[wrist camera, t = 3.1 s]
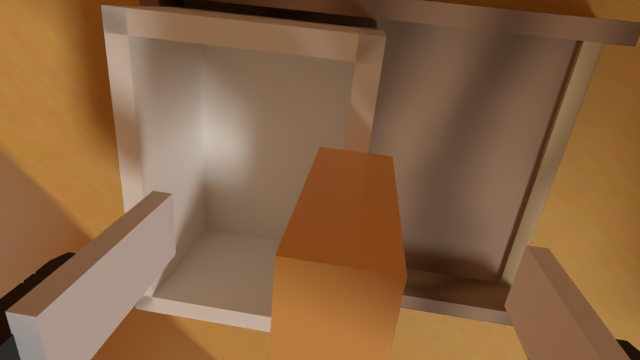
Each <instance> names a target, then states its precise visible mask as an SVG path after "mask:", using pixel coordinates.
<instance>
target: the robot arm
mask: <svg viewBox="0 0 640 360" xmlns="http://www.w3.org/2000/svg"><path fill="white" fill-rule="evenodd" d="M175 255H176V247H175V230H174V214H173V197H172V194H171V193H164V192H158V191H152V192H151V193H150V194H149V195H147V196H146V197H145V198H144V199H142V200H141V201H140V202H139V203H138V204H136V205H135V206H134V207H133V208H131V209H130V210H129V211H128V212H127V213H125V214H124V215H123V216H122V217H120V218H119V219H118V220H117V221H116V222H114V223H113V224H112V225H111V226H109V227H108V228H107V229H106V230H104V231H103V232H102V233H101V234H100V235H98V236H97V237H96V238H95V239H93V240H92V241H91V242H90V243H89V244H87V245H86V246H85V247H84V248H82V249H81V250H80V251H79V252H78V253H70V252H68V253H66V254H63V255H61V256H59V257H57V258H55V259H53V260H50V261H49V262H48V263H46V264H45V265H44V266H42V267H41V268H40V269H39V270H37V271H36V273H35V274H32V275H31V276H29V277H28V278H27V279H26V280H24V283H20V284H19V285H18V286H16V287H15V288H14V289H13V290H11V291H10V292H9V293H7V294H6V295H5V296H4V297H2V298H1V299H0V360H90V359H91V358H92V357H93V356H94V354H95V353H96V352H97V351H98V350H99V348H100V347H101V346H102V345H103V343H104V342H105V341H106V340H107V338H108V337H109V336H110V335H111V334H112V332H113V331H114V330H115V329H116V327H117V326H118V325H119V324H120V322H121V321H122V320H123V319H124V318H125V316H126V315H127V314H128V312H129V311H130V310H131V309H132V308H133V306H134V305H135V304H136V303H137V302H138V300H139V299H140V298H141V297H142V295H143V294H144V293H145V292H146V290H147V289H148V288H149V287H150V285H151V284H152V283H153V282H154V281H155V279H156V278H157V277H158V276H159V274H160V273H161V272H162V271H163V269H164V268H165V267H166V266H167V265H168V263H169V262H170V261H171V260H172V258H173V257H174V256H175ZM504 307H505V309H506V311H507V313H508V315H509V318H510V320H511V322H512V324H513V327H514V329H515V331H516V333H517V336H518V338H519V340H520V342H521V345H522V347H523V349H524V351H525V354H526V356H527V358H528V360H640V351H639V350H637V349H636V348H635V347H634V346H633V345H631V344H630V343H629V342H628V341H625V340H618V339H615V338H614V337H613V335H612V334H611V332H610V331H609V330H608V328H607V327H606V326H605V324H604V323H603V322H602V320H601V319H600V318H599V316H598V315H597V314H596V312H595V311H594V309H593V308H592V307H591V305H590V304H589V303H588V301H587V300H586V299H585V297H584V296H583V295H582V293H581V292H580V291H579V289H578V288H577V286H576V285H575V284H574V282H573V281H572V280H571V278H570V277H569V276H568V274H567V273H566V272H565V270H564V269H563V268H562V266H561V265H560V264H559V262H558V261H557V259H556V258H555V257H554V255H553V254H552V253H551V251H550V250H549V249H548V248H541V247H534V246H527V245H526V248H525V250H524V253H523V256H522V259H521V261H520V264H519V267H518V270H517V272H516V275H515V278H514V281H513V283H512V286H511V289H510V291H509V294H508V297H507V300H506V302H505V305H504Z"/></svg>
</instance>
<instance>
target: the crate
mask: <svg viewBox="0 0 640 360" xmlns="http://www.w3.org/2000/svg"><path fill="white" fill-rule="evenodd" d="M101 12H102V20H103V29H104V38H105V46H106V55H107V64H108V72H109V81H110V90H111V98H112V107H113V116H114V124H115V133H116V142H117V150H118V159H119V168H120V176H121V185H122V193H123V202H124V211H125V213H127V212H128V211H129V210H130V209H131V208H133V207H134V206H135V205H136V204H138V203H139V202H140V201H141V200H142V199H144V198H145V197H146V196H147V195H149V194H150V193H151V192H152V191H158V192H164V193H171V194H172V197H173V214H174V230H175V247H176V255H175V256H174V257H173V258H172V260H171V261H170V262H169V263H168V265H167V266H166V267H165V268H164V269H163V271H162V272H161V273H160V274H159V276H158V277H157V278H156V279H155V281H154V282H153V283H152V284H151V285H150V287H149V288H148V289H147V290H146V292H145V293H144V294H143V295H142V297H141V298H140V299H139V300H138V302H137V303H136V304H135V306H136V309H140V310H146V311H151V312H157V313H163V314H169V315H174V316H180V317H186V318H192V319H197V320H203V321H209V322H215V323H220V324H226V325H232V326H237V327H243V328H249V329H255V330H260V331H266V332H270V345H269V360H388V359H389V354H390V350H391V345H392V341H393V337H394V332H395V328H396V324H397V319H398V315H399V311H400V306H401V302H402V297H403V293H404V289H405V284H406V280H407V270H406V262H405V254H404V246H403V237H402V229H401V221H400V212H399V204H398V196H397V188H396V179H395V171H394V163H393V156H386V155H379V154H371V153H368V151H369V145H370V139H371V132H372V126H373V119H374V113H375V106H376V100H377V94H378V87H379V81H380V74H381V68H382V62H383V55H384V49H385V42H386V35H385V33H384V31H383V29H382V28H373V27H364V26H355V25H345V24H336V23H327V22H318V21H309V20H300V19H291V18H282V17H273V16H263V15H254V14H245V13H236V12H227V11H218V10H209V9H200V8H191V7H155V6H117V5H101Z"/></svg>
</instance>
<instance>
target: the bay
mask: <svg viewBox="0 0 640 360" xmlns="http://www.w3.org/2000/svg"><path fill="white" fill-rule="evenodd" d="M140 6H155V7H191V8H200V9H209V10H218V11H227V12H236V13H245V14H254V15H263V16H273V17H282V18H291V19H300V20H309V21H318V22H327V23H336V24H345V25H355V26H364V27H373V28H382V29H383V31H384V33H385V35H386V42H385V49H384V55H383V62H382V68H381V74H380V81H379V87H378V94H377V100H376V106H375V113H374V119H373V126H372V132H371V139H370V145H369V151H368V153H371V154H379V155H386V156H393V163H394V171H395V179H396V188H397V196H398V204H399V212H400V221H401V229H402V237H403V246H404V254H405V262H406V270H407V280H406V284H405V289H404V293H403V297H402V302H401V306H400V307H401V308H407V309H413V310H419V311H425V312H431V313H437V314H443V315H449V316H455V317H461V318H468V319H474V320H480V321H486V322H492V323H498V324H504V325H510V326H513V324H512V322H511V320H510V318H509V315H508V313H507V311H506V309H505V307H504V305H505V302H506V300H507V297H508V294H509V291H510V289H511V286H512V283H513V281H514V278H515V275H516V272H517V270H518V267H519V264H520V261H521V259H522V256H523V253H524V250H525V248H526V245H527V246H529V245H530V243H531V240H532V237H533V235H534V232H535V229H536V226H537V224H538V221H539V218H540V216H541V213H542V210H543V207H544V205H545V202H546V199H547V196H548V194H549V191H550V188H551V186H552V183H553V180H554V177H555V175H556V172H557V169H558V167H559V164H560V161H561V158H562V156H563V153H564V150H565V147H566V145H567V142H568V139H569V137H570V134H571V131H572V128H573V126H574V123H575V120H576V118H577V115H578V112H579V109H580V107H581V104H582V101H583V98H584V96H585V93H586V90H587V88H588V85H589V82H590V79H591V77H592V74H593V71H594V68H595V66H596V63H597V60H598V58H599V55H600V52H601V49H602V47H603V44H604V43H607V44H616V45H625V46H636V43H637V41H638V38H639V36H640V23H637V22H627V21H617V20H608V19H598V18H588V17H579V16H569V15H559V14H550V13H540V12H530V11H521V10H511V9H501V8H492V7H482V6H472V5H463V4H453V3H443V2H433V1H424V0H140Z"/></svg>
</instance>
